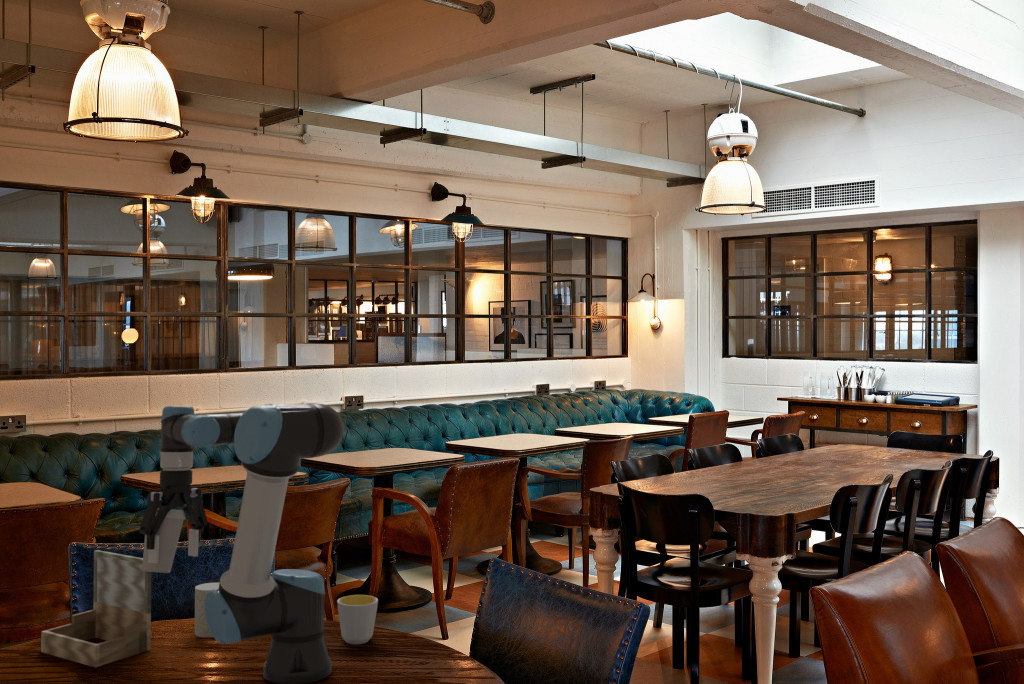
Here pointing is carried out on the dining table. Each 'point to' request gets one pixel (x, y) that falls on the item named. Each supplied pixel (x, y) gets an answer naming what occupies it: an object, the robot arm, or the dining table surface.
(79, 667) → the dining table surface
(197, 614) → the white cylinder
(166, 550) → the coffee cup
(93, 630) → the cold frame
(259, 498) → the robot arm
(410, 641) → the dining table surface
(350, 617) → the mug
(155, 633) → the dining table surface
